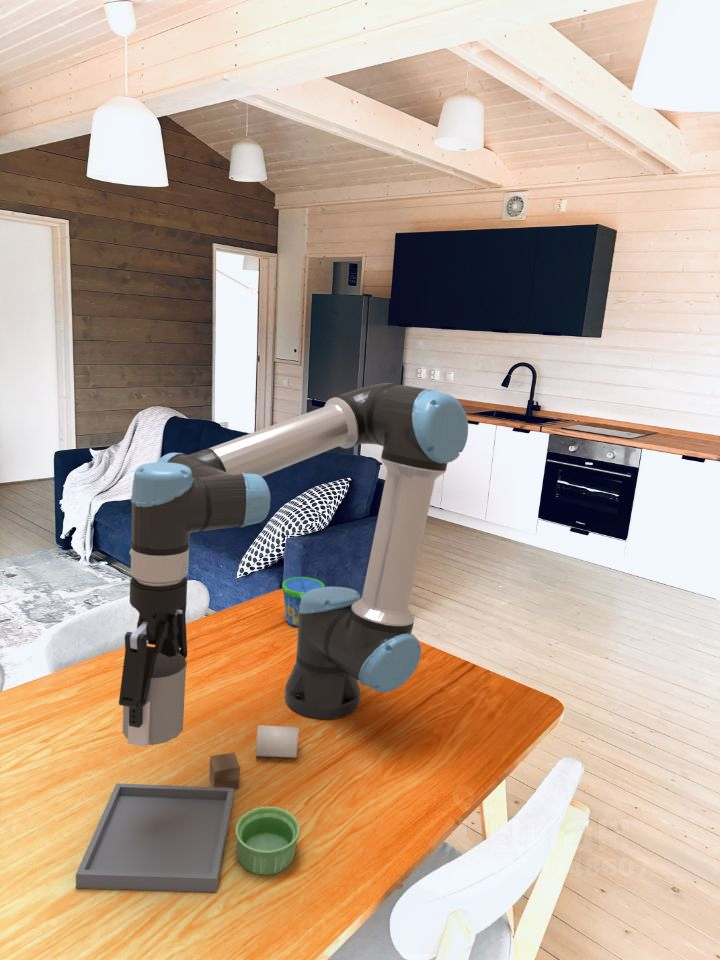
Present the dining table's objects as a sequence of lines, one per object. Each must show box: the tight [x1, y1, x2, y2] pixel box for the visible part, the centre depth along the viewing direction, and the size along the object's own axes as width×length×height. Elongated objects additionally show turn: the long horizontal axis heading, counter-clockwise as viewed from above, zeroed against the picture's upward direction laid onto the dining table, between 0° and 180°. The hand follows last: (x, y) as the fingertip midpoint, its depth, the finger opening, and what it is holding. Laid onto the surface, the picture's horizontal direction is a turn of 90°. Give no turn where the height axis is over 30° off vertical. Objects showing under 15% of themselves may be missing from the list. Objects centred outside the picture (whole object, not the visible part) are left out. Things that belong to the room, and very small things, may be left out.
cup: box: [122, 652, 187, 746], centre depth 98 cm, size 8×8×10 cm
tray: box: [75, 782, 235, 893], centre depth 98 cm, size 18×18×2 cm
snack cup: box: [281, 576, 326, 628], centre depth 173 cm, size 16×10×10 cm
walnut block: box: [208, 751, 241, 790], centre depth 111 cm, size 4×4×4 cm
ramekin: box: [234, 806, 301, 876], centre depth 97 cm, size 9×9×4 cm
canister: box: [255, 725, 299, 759], centre depth 120 cm, size 7×5×5 cm
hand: (153, 725), depth 99 cm, fingers closed on cup, 8 cm apart
